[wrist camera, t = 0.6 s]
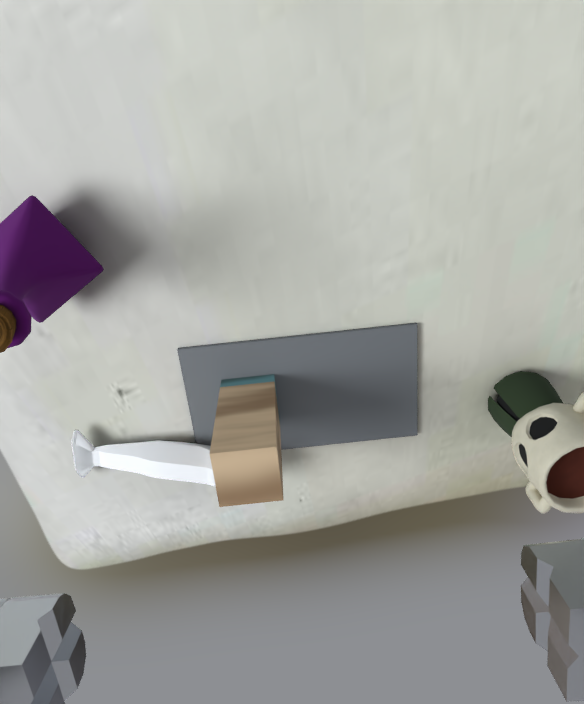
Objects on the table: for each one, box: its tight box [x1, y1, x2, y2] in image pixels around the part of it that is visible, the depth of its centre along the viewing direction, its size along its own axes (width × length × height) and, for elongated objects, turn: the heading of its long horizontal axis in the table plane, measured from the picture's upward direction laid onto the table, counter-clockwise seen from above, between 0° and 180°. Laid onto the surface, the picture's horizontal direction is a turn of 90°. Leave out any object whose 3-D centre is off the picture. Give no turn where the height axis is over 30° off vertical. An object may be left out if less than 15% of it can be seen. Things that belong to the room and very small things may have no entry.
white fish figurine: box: [71, 430, 216, 486], centre depth 54 cm, size 6×18×4 cm, turn 87°
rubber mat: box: [178, 323, 417, 450], centre depth 53 cm, size 12×22×1 cm, turn 96°
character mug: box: [488, 371, 584, 514], centre depth 49 cm, size 11×7×13 cm, turn 163°
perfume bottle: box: [0, 195, 103, 353], centre depth 39 cm, size 8×8×18 cm
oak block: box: [210, 374, 283, 507], centre depth 48 cm, size 5×5×12 cm
